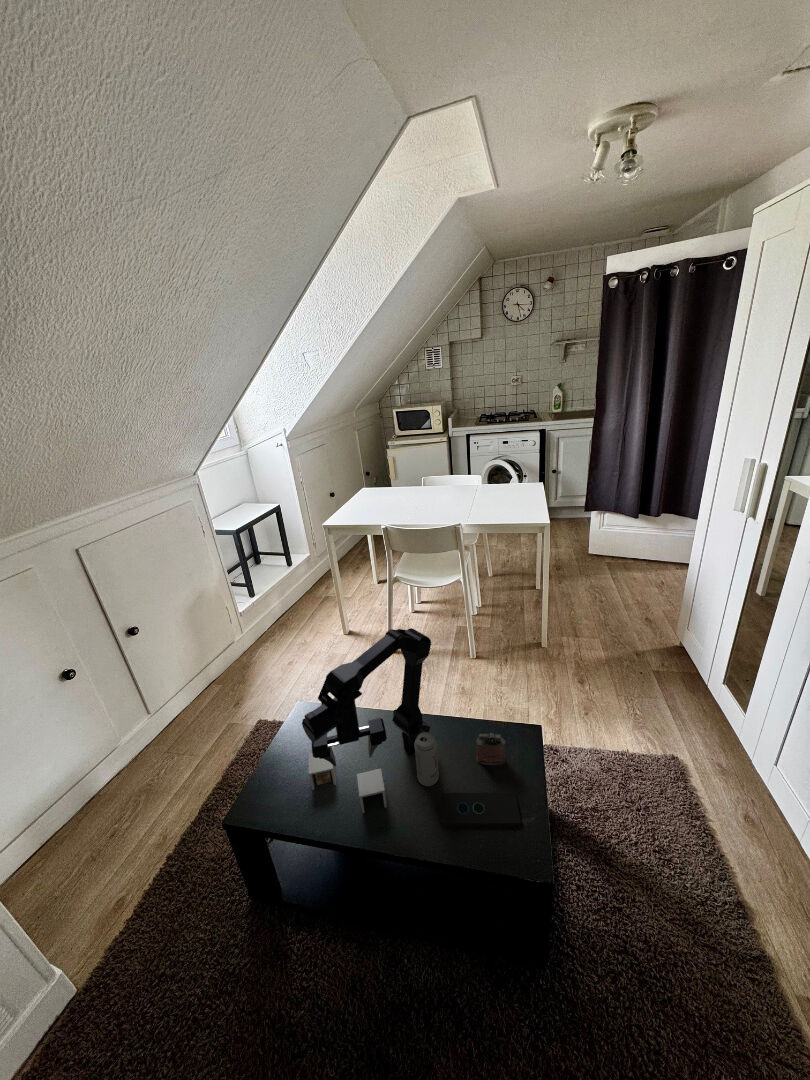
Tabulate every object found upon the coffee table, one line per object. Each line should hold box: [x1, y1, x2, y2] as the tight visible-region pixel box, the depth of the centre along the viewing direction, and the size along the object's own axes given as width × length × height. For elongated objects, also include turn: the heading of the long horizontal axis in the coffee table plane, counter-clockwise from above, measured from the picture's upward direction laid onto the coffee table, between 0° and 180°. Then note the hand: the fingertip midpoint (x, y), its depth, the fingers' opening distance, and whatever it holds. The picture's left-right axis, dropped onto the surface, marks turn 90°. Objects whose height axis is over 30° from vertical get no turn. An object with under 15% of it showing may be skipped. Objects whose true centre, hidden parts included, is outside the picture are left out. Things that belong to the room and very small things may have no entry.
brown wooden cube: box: [315, 771, 332, 786], centre depth 120 cm, size 4×4×4 cm
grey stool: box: [356, 768, 388, 814], centre depth 113 cm, size 7×7×6 cm
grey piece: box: [308, 752, 337, 791], centre depth 120 cm, size 7×7×6 cm
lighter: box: [475, 732, 506, 766], centre depth 120 cm, size 8×3×10 cm, turn 84°
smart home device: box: [439, 792, 522, 827], centre depth 109 cm, size 8×2×20 cm
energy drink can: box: [414, 732, 440, 787], centre depth 115 cm, size 6×6×15 cm
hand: (352, 760), depth 111 cm, fingers open, 9 cm apart
